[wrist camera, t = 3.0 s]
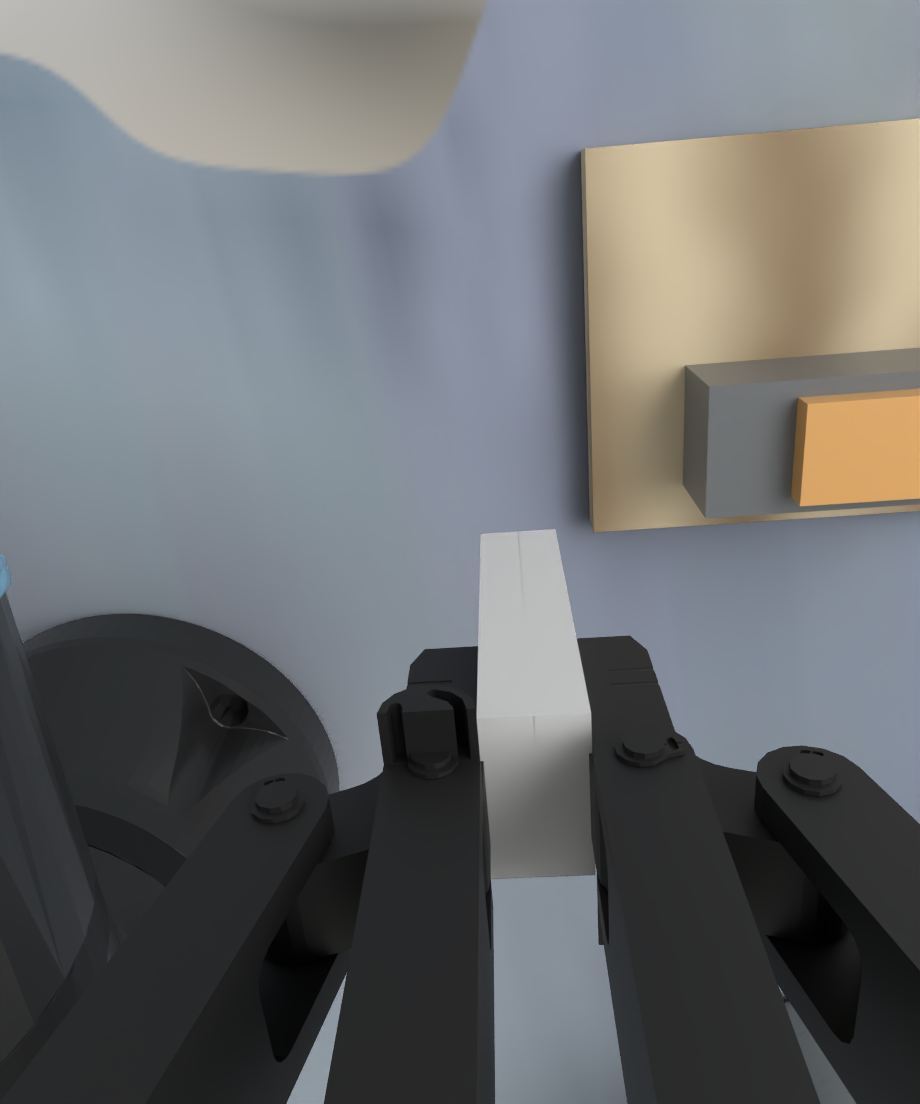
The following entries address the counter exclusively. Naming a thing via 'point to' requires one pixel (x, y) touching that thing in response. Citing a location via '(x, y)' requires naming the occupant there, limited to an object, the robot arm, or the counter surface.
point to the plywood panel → (733, 285)
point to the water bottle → (819, 1065)
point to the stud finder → (803, 433)
